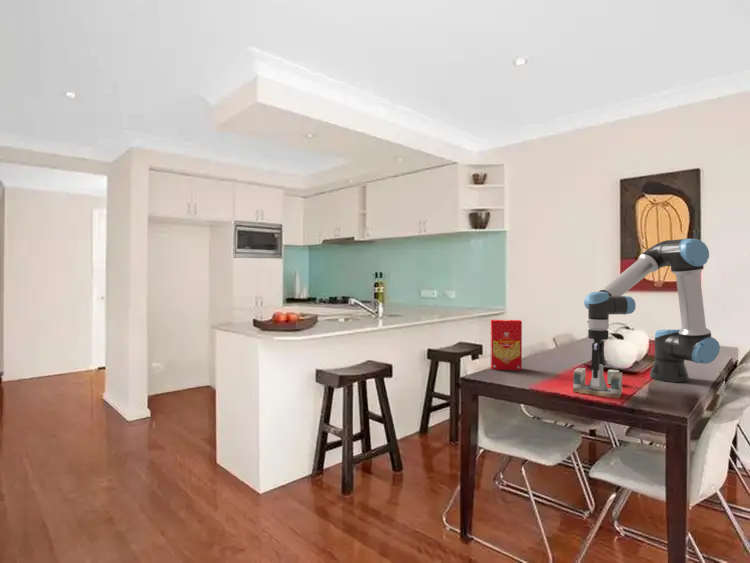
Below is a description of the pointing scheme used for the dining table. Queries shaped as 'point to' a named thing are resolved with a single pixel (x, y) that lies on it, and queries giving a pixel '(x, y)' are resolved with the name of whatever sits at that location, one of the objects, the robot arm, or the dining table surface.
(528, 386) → the dining table surface
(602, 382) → the flask
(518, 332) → the food packaging
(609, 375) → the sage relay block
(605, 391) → the grey u-shaped holder
